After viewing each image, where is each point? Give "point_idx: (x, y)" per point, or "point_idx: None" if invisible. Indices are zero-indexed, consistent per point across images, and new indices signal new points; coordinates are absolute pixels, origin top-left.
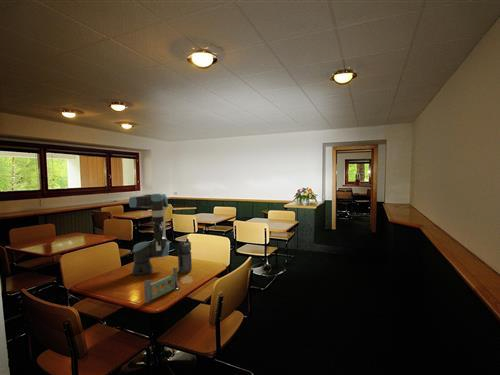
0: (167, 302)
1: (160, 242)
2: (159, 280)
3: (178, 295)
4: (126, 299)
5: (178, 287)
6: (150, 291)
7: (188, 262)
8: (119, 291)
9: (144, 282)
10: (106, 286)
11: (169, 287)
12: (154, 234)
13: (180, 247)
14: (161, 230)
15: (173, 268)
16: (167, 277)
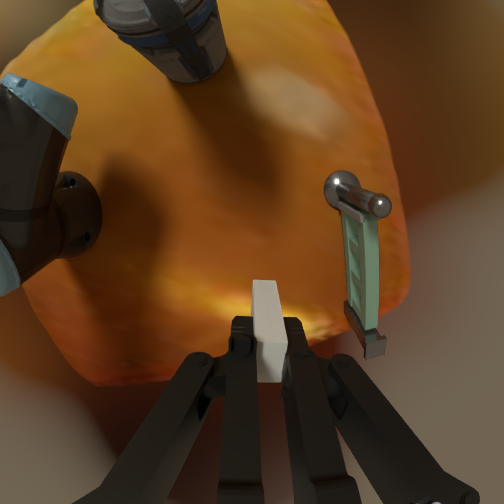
0: (400, 265)
1: (306, 342)
2: (370, 290)
3: (394, 215)
4: None
5: (347, 179)
6: None
7: (222, 32)
8: (195, 337)
9: (372, 356)
10: (127, 345)
11: (355, 227)
12: (188, 444)
13: (190, 28)
14: (423, 487)
15: (381, 217)
16: (373, 250)
